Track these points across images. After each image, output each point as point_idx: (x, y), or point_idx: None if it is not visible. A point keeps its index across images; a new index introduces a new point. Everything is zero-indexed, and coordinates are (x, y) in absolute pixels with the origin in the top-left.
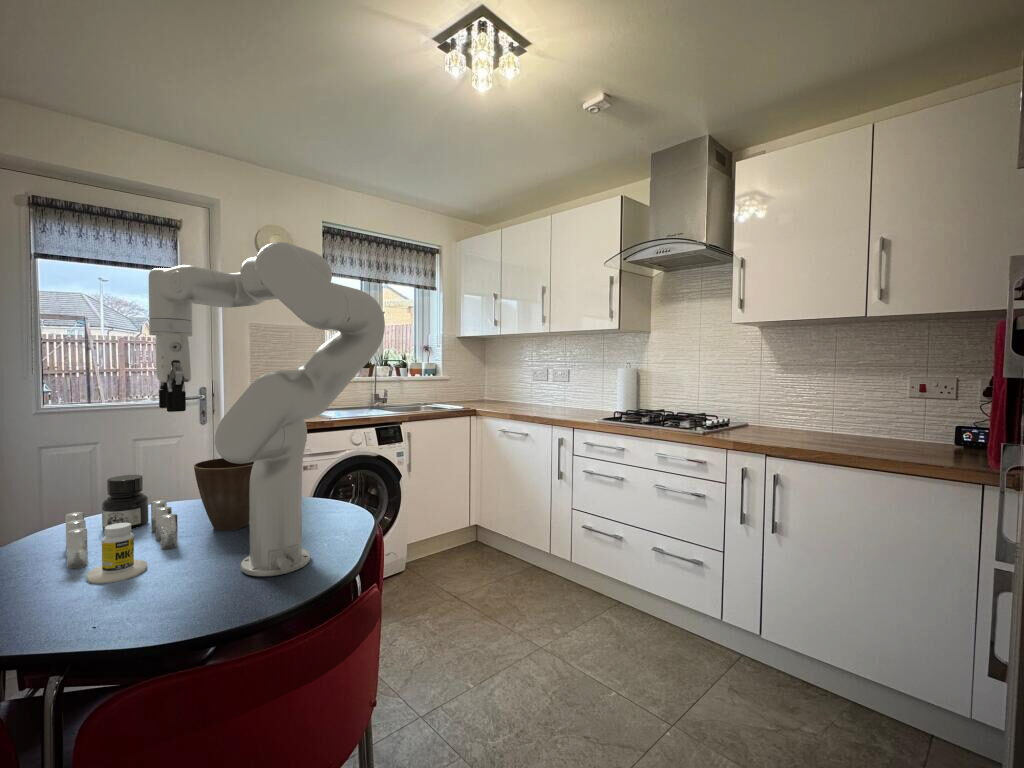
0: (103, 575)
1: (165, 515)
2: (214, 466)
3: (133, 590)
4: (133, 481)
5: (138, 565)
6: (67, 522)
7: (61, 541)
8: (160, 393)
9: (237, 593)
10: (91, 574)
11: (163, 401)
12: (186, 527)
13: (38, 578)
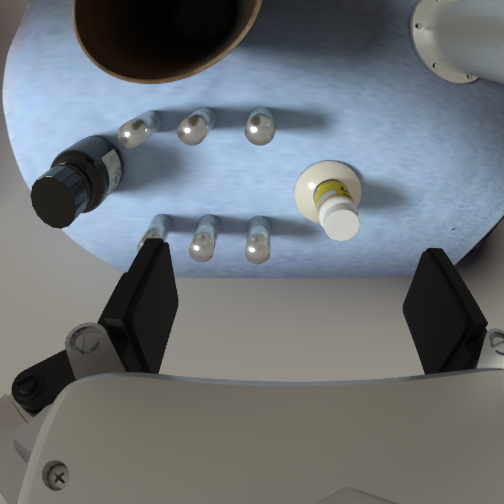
0: None
1: (251, 136)
2: (91, 31)
3: (401, 188)
4: (72, 189)
5: (336, 172)
6: None
7: (131, 234)
8: (158, 366)
9: (491, 115)
10: None
11: (168, 317)
12: None
13: (275, 257)
